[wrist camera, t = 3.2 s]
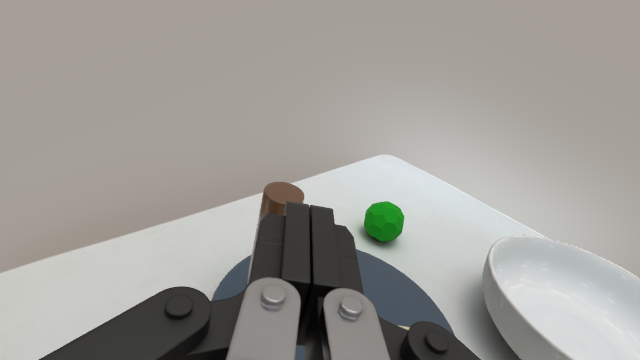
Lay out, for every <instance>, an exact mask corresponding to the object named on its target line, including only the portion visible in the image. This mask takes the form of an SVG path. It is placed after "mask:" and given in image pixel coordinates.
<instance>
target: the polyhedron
mask: <svg viewBox="0 0 640 360" xmlns="http://www.w3.org/2000/svg"><path fill="white" fill-rule="evenodd" d="M403 222H404V215H403V213H402V211H401V209H400V208H399V207H397V206H396V205H394V204H392V203H390V202H379V203H375V204H372V205H371V206H370V207H369V208H368V209H367V211H366V215H365V221H364V226H365V229H366V231H367V233H368V234H369V235H371V236H372V237H374V238H376V239H378V240H379V241H382V242H383V241H391V240H393V239H396V238H397V237H398V236H399V235H400V234H401V233H402V228H403Z"/></svg>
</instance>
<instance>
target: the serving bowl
mask: <svg viewBox="0 0 640 360" xmlns="http://www.w3.org/2000/svg"><path fill="white" fill-rule="evenodd" d="M483 292H484V297H485V301H486V305H487V308H488V310H489V313H490V315H491V317H492V319H493V321H494V323H495V325H496V327H497V329H498V330H499V332H500V333H501V335H502V336H503V338H504V339H505V341H506V342H507V343H508V345H509V346H510V347H511V349H512V350H513V351H514V352H515V353H516V354H517V356H518V357H519V358H520V359H521V360H640V278H638V277H637V276H635V275H634V274H632V273H630V272H629V271H627V270H625V269H623V268H621V267H620V266H618V265H616V264H614V263H612V262H610V261H608V260H606V259H604V258H601V257H600V256H598V255H595V254H593V253H591V252H588V251H586V250H584V249H581V248H578V247H576V246H573V245H570V244H567V243H564V242H561V241H557V240H554V239H549V238H545V237H539V236H531V235H514V236H509V237H505V238H502V239H500V240H498V241H497V242H495V243H494V244H493V245H492V247H491V249H490V250H489V253H488V256H487V259H486V262H485V266H484V271H483Z"/></svg>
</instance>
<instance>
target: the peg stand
mask: <svg viewBox="0 0 640 360" xmlns="http://www.w3.org/2000/svg"><path fill="white" fill-rule="evenodd" d="M287 201H291V202H296V203H302V204H303V201H304V193H303V192H302V190H301V189H299V188H298V187H296V186H294V185H292V184H289V183H285V182H273V183H270V184H268V185H267V186H266V187H265V189H264V192H263V198H262V203H261V208H260V213H259V219H258V224H257V229H256V235H255V240H254V245H253V250H252V255H250V256H248V257H247V258H245V259H244V260H242V261H241V262H240V263H238V264H237V265H236V266H235V267H234V268H233V269H232V270H231V271H229V272H228V274H227V275H226V276H225V278H224V279H223V280H222V281H221V283H220V284H219V286H218V288H217V290H216V291H215V293H214V295H213V298H212V301H215V300H222V299H227V298H231V297H233V296H235V295H237V294H239V293H241V292H242V291H243V290H244V289H245V288H246V287H247V285H248V283H249V279H250V273H251V267H252V262H253V256H254V251H255V246H256V241H257V235H258V230H259V225H260V221H261V220H262V219H263V218H264V217H265V216H266V215H267V214H268V213H270V214H276V215H282V216H283V214H284V209H285V205H286V202H287ZM355 251H356V254H357V260H358V265H359V270H360V276H361V281H362V287H363V292H364V296H366V297H367V298H368V299H369V300H370V301H371V302H372V304H373V305H374V307H375V310H376V313H377V315H378V316H379V317H381V318H382V319H384V320H386V321H388V322H390V323H393V324H395V325H397V326H400V327H402V328H404V329H407V330H409V328H410V327H411V326H412V325H413V324H414V323H416V322H419V321H428V322H433V323H435V324H438V325H440V326H442V327H443V328H445V329H446V330H448V331H449V332H450V333H451V334H452V335H454V333H453V331H452V329H451V327H450V325H449V323H448V322H447V320H446V318H445V317H444V315H443V314H442V312H441V311H440V309H439V308H438V307H437V305H436V304H435V303H434V302H433V301H432V299H431V298H430V297H429V296H428V295H427V294H426V293H425V292H424V291H423V290H422V289H421V288H420V287H419V286H418V285H417V284H416V283H415V282H413V281H412V280H411V279H410V278H408V277H407V276H406V275H405V274H403V273H402V272H400V271H399V270H397V269H396V268H394V267H393V266H391V265H389V264H388V263H386V262H384V261H382V260H381V259H378V258H376V257H374V256H372V255H370V254H368V253H365V252H362V251H360V250H357V249H355ZM454 336H455V335H454ZM304 359H305V346H300V345H296V352H295V360H304Z"/></svg>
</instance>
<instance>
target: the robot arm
mask: <svg viewBox="0 0 640 360" xmlns="http://www.w3.org/2000/svg"><path fill="white" fill-rule="evenodd" d="M355 249H356V248H355V242H354V237H353V236H352V234H351V233H350V232H349V230H348V229H347V228H346V226H341V225H335V223H334V215H333V209H331V208H325V207H319V206H314V205H310V207H309V205H308V204H302V203H296V202H291V201H287V202H286V205H285V209H284V214H283V216H282V215H276V214H270V213H268V214H267V215H266V216H265V217H264V218H263V219H262V220H261V221H260V225H259V230H258V235H257V241H256V246H255V251H254V256H253V262H252V267H251V273H250V279H249V283H248V285H247V287H246V288H245V289H244V290H243V291H242V292H241V293H239V294H237V295H235V296H233V297H231V298H227V299H222V300H215V301H209V299H208V298H207V296H206V295H205V294H203V293H202V292H201V291H199V290H197V289H194V288H190V287H173V288H169V289H166V290H163V291H161V292H159V293H157V294H156V295H154V296H152V297H150V298H148V299H147V300H145V301H143V302H141V303H139V304H138V305H136V306H134V307H132V308H130V309H129V310H127V311H125V312H123V313H122V314H120V315H118V316H116V317H114V318H113V319H111V320H109V321H107V322H105V323H104V324H102V325H100V326H98V327H96V328H95V329H93V330H91V331H89V332H88V333H86V334H84V335H82V336H80V337H79V338H77V339H75V340H73V341H71V342H70V343H68V344H66V345H64V346H63V347H61V348H59V349H57V350H55V351H54V352H52V353H50V354H48V355H46V356H45V357H43V358H41V359H39V360H295V352H296V345H300V346H305V359H304V360H481V359H479V358H478V357H477V356H476V355H475V354H474V353H473V352H472V351H470V350H469V349H468V348H467V347H466V346H465V345H464V344H463V343H461V342H460V341H459V340H458V339H457V338H456V337H455V336H454V335H452V334H451V333H450V332H449V331H448V330H446V329H445V328H443V327H442V326H440V325H438V324H435V323H433V322H428V321H419V322H416V323H414V324H413V325H412V326H411V327H410V328H409V330H407V329H404V328H402V327H400V326H397V325H395V324H393V323H390V322H388V321H386V320H384V319H382V318H381V317H379V316H378V315H377V313H376V310H375V307H374V305H373V304H372V302H371V301H370V300H369V299H368V298H367V297H366V296H364V292H363V287H362V281H361V276H360V270H359V265H358V260H357V254H356V251H355Z"/></svg>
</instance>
